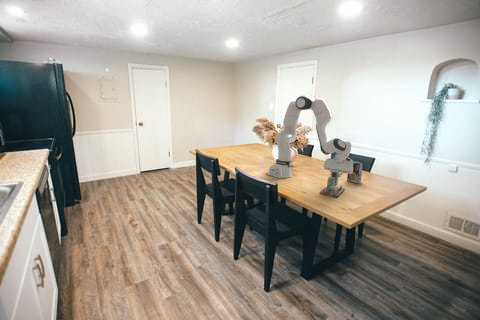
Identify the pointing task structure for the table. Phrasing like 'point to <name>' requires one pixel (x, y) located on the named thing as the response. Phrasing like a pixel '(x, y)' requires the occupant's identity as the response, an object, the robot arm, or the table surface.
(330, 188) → the rail base
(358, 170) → the coffee box
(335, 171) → the block
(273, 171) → the robot arm
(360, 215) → the table surface
